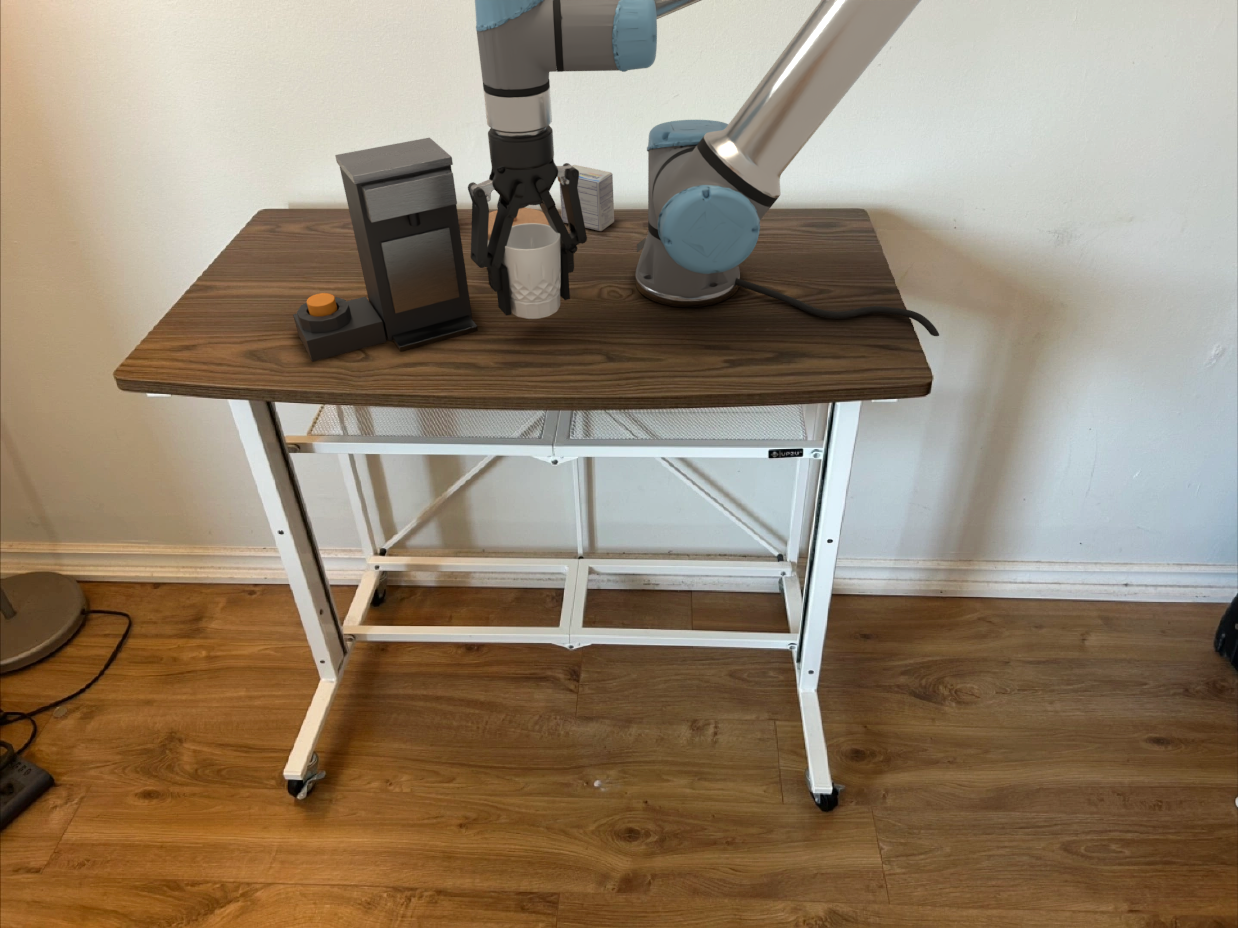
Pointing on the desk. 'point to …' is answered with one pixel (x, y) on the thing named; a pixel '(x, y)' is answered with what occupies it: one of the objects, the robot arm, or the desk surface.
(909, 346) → the desk surface
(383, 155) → the coffee machine
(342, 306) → the button base
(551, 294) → the white cup
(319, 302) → the button
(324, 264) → the desk surface
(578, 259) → the desk surface
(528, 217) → the trinket box
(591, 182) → the medicine box
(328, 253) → the desk surface
